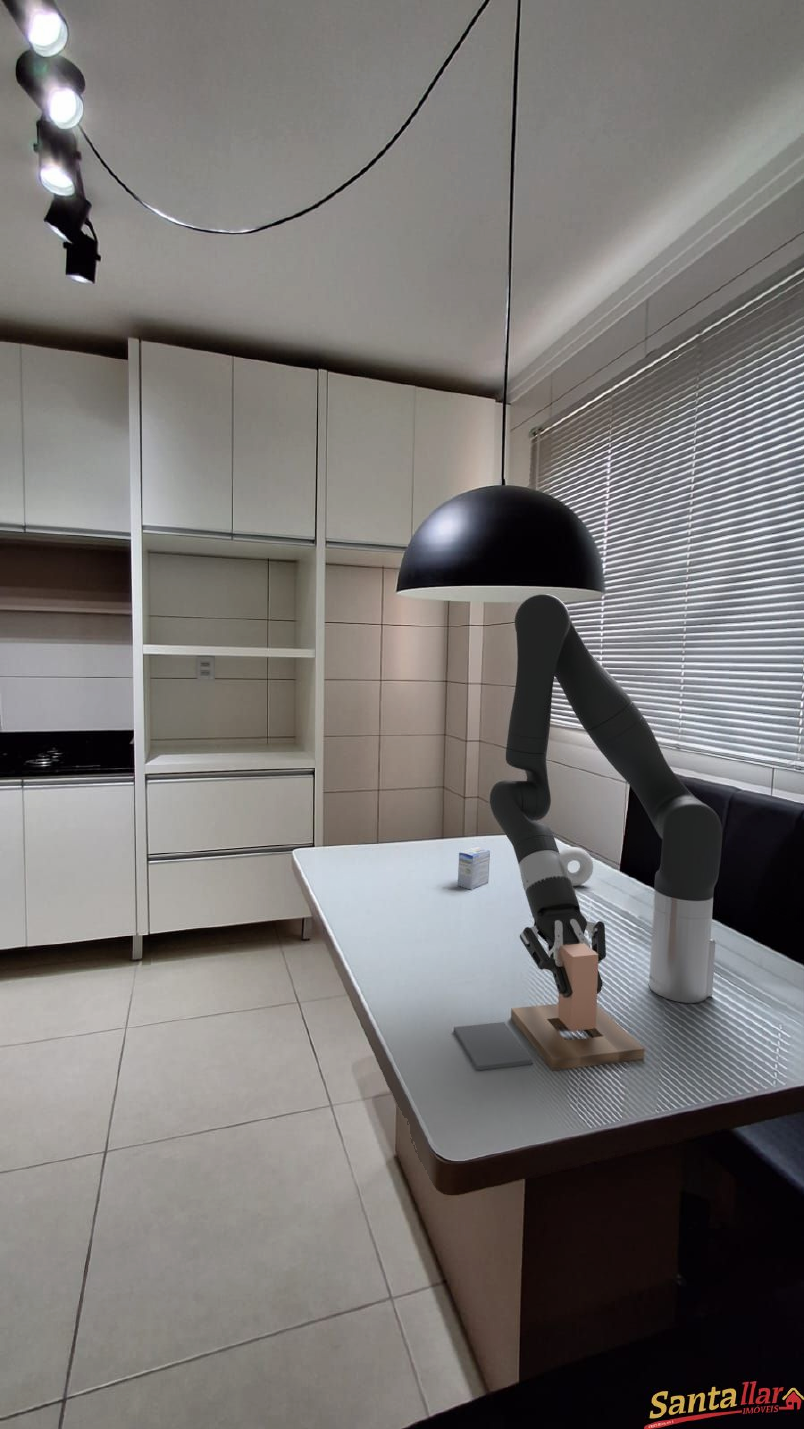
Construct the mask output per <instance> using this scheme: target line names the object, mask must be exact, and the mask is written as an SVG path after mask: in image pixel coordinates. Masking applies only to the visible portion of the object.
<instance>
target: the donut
mask: <svg viewBox="0 0 804 1429" xmlns="http://www.w3.org/2000/svg"><path fill="white" fill-rule="evenodd" d="M559 853H560V856H561V858H562V860H563V862H564V864H565V866H566V868H567V871H568V874H569V877H570V880H571V883H572V885H573V887H579V886H581V885H583V884H585V883H587V881H589V879H590V878H591V876H592V875H593V872H594V863H593V862H594V861H593V859H592V856H591V855H590V853H588V852H587V851H586V850H585V849H583V848H581V847H577V846H571V847H567V848H565V849H562V850H561V851H559ZM572 861H576V862H578V864H579V868H578V870H576V871H575V872H571V871H570V870H569V869H568V866H569V864H570V863H571V862H572Z"/></svg>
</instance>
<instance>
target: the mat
mask: <svg viewBox="0 0 804 1429" xmlns="http://www.w3.org/2000/svg"><path fill="white" fill-rule="evenodd" d="M453 1033H454V1034H455V1036H456V1037H457V1039H458V1041H459V1043H460V1044H461V1046H462V1048H463V1049H464V1051H465V1053H466V1054H467V1056H468V1057H469V1059H470V1061H471V1062H472V1064H473V1066H474V1068H475V1069H476V1070H477V1072H478V1071H484V1070H485V1071H486V1070H492V1069H500V1068H501V1069H502V1068H508V1067H510V1068H511V1067H519V1066H525V1065H532V1064H533V1061H534V1060H533V1058H532V1057H531V1055H530V1054H529V1053H528V1051H527V1050H526V1049H525V1048H524V1046H523V1045H522V1044H521V1042H520V1041H519V1039H518V1038H517V1037H516V1036H515V1034H514V1033H513V1032H512V1030H511V1029H510V1027H509V1026H508V1025H507V1023H505V1021H501V1022H500V1021H499V1022H492V1023H482V1024H472V1025H463V1026H454V1027H453Z"/></svg>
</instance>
